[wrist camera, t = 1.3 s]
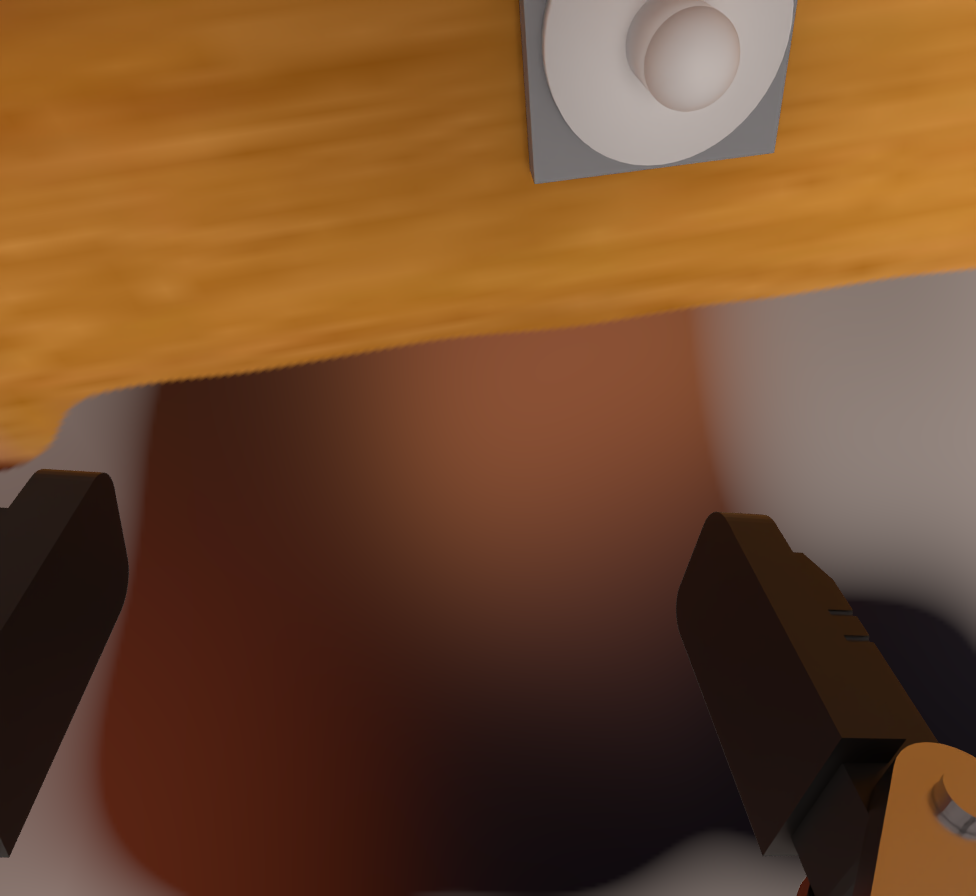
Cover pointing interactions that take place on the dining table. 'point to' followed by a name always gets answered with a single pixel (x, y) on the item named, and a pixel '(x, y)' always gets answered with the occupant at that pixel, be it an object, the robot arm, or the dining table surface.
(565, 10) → the hub base
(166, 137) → the dining table surface
